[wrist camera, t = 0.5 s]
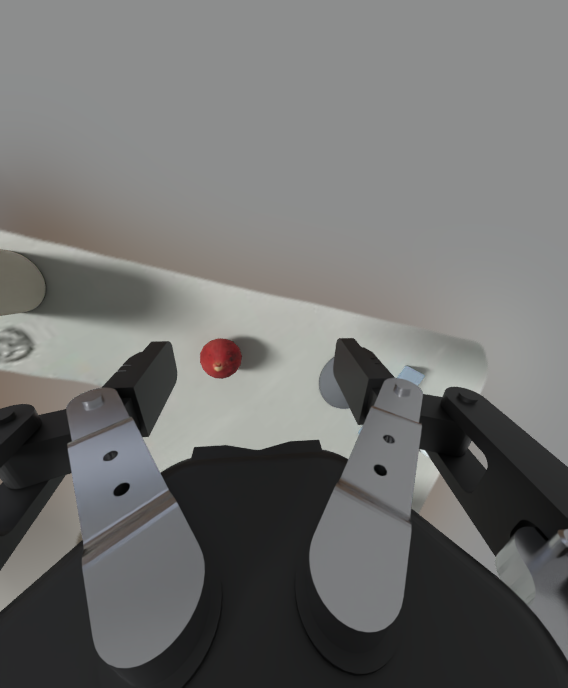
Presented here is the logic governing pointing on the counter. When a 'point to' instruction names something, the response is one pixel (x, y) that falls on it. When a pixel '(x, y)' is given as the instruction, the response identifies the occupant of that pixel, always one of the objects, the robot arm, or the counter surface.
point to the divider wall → (409, 377)
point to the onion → (220, 358)
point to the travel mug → (19, 284)
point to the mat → (331, 387)
